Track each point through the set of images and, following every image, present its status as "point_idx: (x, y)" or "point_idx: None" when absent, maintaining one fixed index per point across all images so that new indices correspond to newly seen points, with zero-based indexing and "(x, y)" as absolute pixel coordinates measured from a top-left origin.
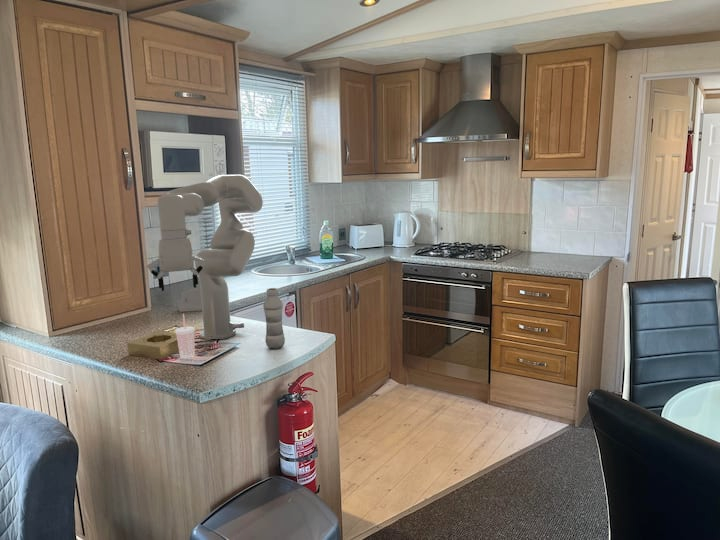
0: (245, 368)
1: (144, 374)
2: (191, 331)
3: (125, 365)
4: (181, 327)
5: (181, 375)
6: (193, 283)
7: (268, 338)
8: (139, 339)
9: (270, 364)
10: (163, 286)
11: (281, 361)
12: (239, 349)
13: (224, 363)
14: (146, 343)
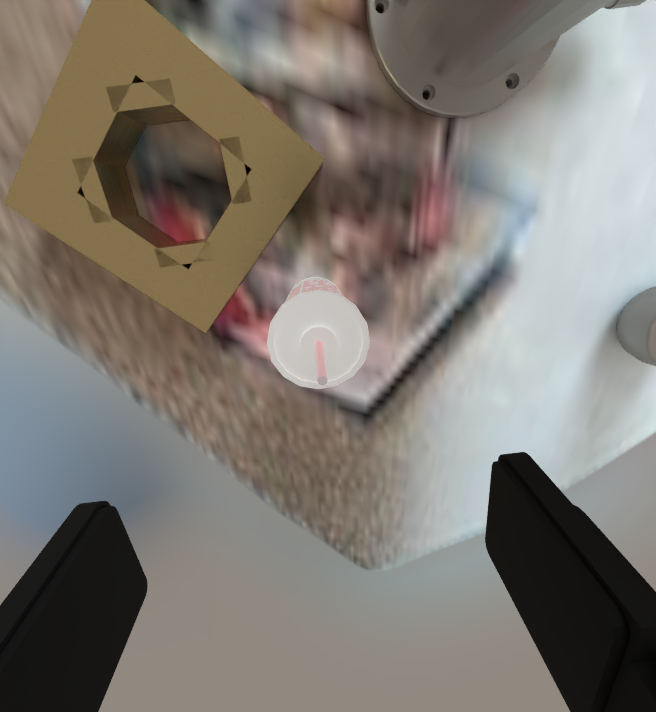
0: (489, 471)
1: (195, 441)
2: (352, 372)
3: (93, 342)
4: (297, 304)
5: (310, 475)
6: (510, 584)
7: (647, 356)
8: (50, 156)
9: (562, 462)
10: (122, 641)
11: (599, 448)
12: (514, 295)
13: (438, 419)
14: (120, 250)
